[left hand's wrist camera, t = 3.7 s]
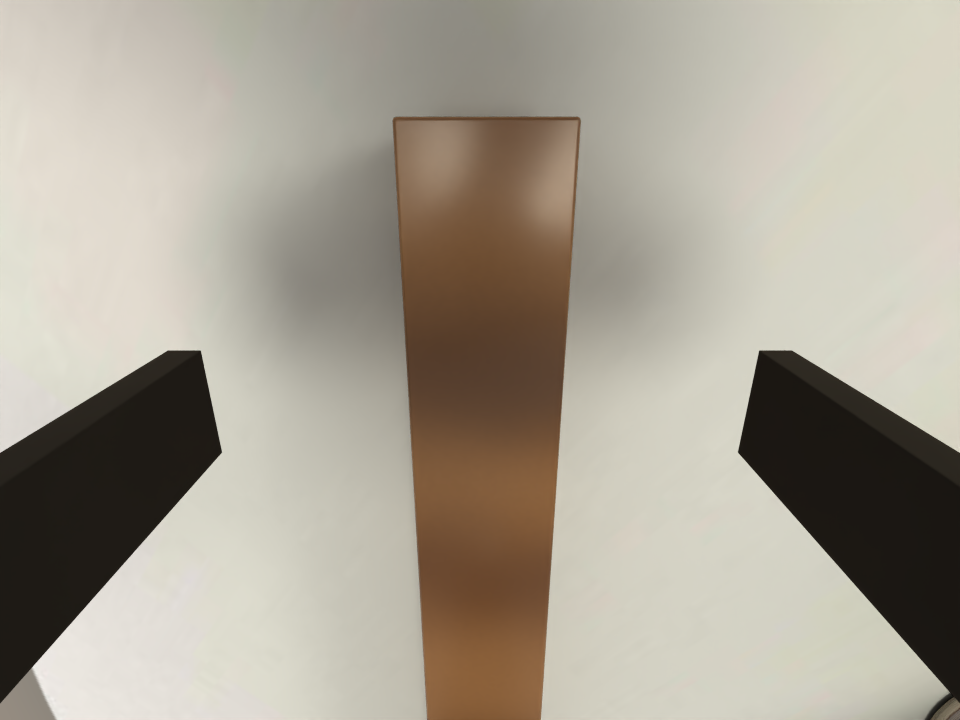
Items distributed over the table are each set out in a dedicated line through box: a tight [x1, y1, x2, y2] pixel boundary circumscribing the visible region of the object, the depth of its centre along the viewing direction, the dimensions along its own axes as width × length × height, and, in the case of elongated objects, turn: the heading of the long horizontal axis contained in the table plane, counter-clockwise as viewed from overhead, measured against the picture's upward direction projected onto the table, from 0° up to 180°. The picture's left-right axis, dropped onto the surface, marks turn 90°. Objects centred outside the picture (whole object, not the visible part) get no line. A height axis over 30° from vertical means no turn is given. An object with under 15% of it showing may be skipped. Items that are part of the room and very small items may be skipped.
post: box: [393, 117, 581, 720], centre depth 27 cm, size 53×5×8 cm, turn 0°
